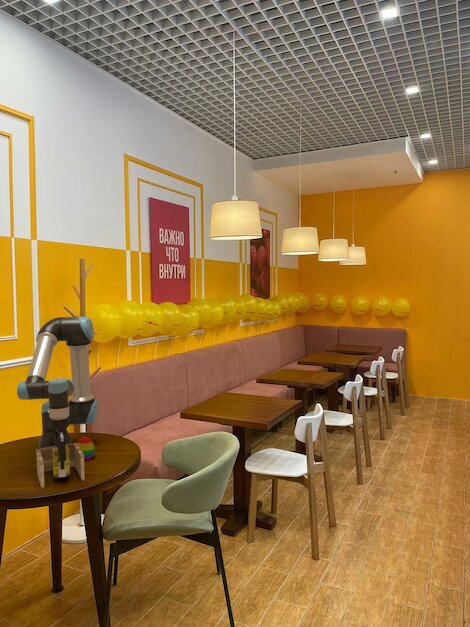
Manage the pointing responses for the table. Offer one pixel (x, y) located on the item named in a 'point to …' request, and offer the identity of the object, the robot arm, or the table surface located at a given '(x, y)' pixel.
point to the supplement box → (55, 463)
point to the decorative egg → (86, 447)
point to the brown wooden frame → (47, 462)
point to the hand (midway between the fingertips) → (61, 473)
